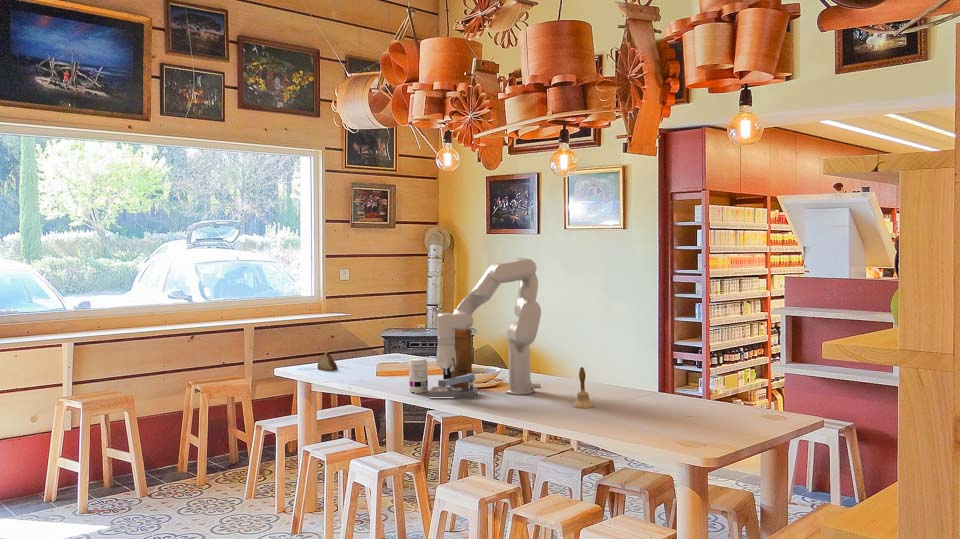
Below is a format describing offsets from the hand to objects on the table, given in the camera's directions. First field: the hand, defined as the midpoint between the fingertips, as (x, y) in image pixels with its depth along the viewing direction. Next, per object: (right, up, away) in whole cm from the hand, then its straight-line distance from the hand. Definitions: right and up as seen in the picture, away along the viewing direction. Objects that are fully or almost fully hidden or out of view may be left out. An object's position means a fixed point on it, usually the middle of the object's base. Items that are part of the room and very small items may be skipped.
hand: (447, 383), depth 340 cm
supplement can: (-14, -6, +14) cm, 21 cm away
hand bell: (+57, -7, -19) cm, 60 cm away
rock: (-67, -4, +75) cm, 101 cm away
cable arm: (+4, 0, 0) cm, 4 cm away
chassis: (+3, -6, +4) cm, 8 cm away
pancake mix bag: (+4, -5, +24) cm, 24 cm away
